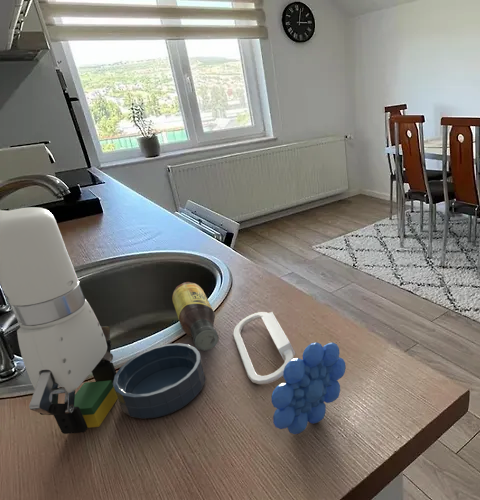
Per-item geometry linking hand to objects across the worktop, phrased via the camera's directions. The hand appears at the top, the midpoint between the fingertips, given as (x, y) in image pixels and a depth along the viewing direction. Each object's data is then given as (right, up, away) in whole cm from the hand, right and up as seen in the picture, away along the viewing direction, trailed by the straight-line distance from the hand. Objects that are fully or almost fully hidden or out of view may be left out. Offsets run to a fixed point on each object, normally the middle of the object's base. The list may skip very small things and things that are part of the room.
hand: (93, 406), depth 60 cm
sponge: (0, -1, 0) cm, 1 cm away
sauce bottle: (+3, +14, +26) cm, 30 cm away
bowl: (+9, +1, +4) cm, 10 cm away
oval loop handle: (+23, +5, +12) cm, 26 cm away
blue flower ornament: (+32, 0, -3) cm, 32 cm away
